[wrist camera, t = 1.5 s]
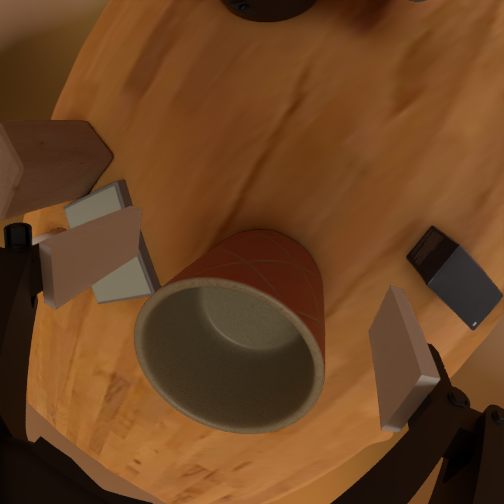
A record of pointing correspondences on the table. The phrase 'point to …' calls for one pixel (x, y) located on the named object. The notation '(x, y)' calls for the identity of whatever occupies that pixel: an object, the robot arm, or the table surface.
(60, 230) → the white rounded cylinder
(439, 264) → the small box
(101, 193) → the grey rectangular slab
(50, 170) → the wooden block
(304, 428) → the table surface
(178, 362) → the planter
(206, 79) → the table surface
